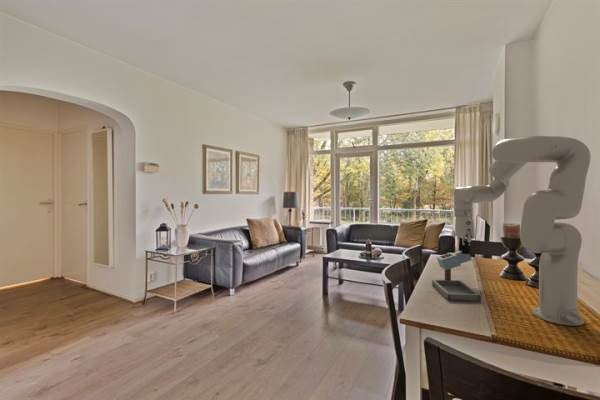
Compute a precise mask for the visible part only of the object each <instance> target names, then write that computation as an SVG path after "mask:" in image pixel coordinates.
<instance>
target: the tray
mask: <svg viewBox="0 0 600 400" xmlns="http://www.w3.org/2000/svg"><path fill="white" fill-rule="evenodd" d="M431 286H432V287H433V288H434V287H435V288H436V289H435V288H434V289H435V290H436V291H437V290H438V291H437V292H438V293H439V294H441V296H442V297H443V298H444V299H446V301H448V300H450V302H451V301H452V302H454V301H455V302H475V303H476V302H477V303H478V302H479V303H480V302H482V295H481V294H480V293H479V292H477V291H476V290H475V289H473V288H472V287H470V286H469V285H467V284H466V283H464V282H463V281H462V280H458V279H457V280H453V279H451V280H445V279H432V280H431Z"/></svg>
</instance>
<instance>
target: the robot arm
mask: <svg viewBox="0 0 600 400" xmlns="http://www.w3.org/2000/svg"><path fill="white" fill-rule="evenodd" d="M491 156H492V158H493V160H494V161H493V162H492V163H491V164H490V165H489V167H488V172H489V174H490V175H491V176H492V178H494V179H493V180H492V181H490V183H488V184H486V185H469V186H458V187H454V189H453V208H454V209H453V212H454V213H453V214H454V218H455V224H454V225H455V226H454V233H455V236H456V237H457V240H458V251H461V250H462V254H470V253H471V252H470V251H471V250H470V247H471V242H472V239H475V236H476V235H475V225H474V218H473V217H474V215H473V214H474V213H473V210H474V208H473V205H474V204H480V203H481V204H482V203H483V204H484V203H492V202H494V201H496V200H497V199H498V198H500V196H502V195H503V194H504V193H506V191H507V190H508V187H509V184H510V179H511V178H512V177H513V176H514V175H516V173H518V172H519V171H520V170H521V169H522V168H523V167H524V166H526V165H527V164H528V163H555V164H556V166H555V167H554V169H553V170H552V172H551V174H550V176H549V183H548V188H547V189H543V190H542V189H541V190H536V191H533V192H532V193H530V195H528V197H526V200H525V202H524V203H523V204H524V205H523V207H522V208H523V209H522V216H521V223H520V228H519V238H520V240H519V241H520V243H521V245H522V246H523V248H524V249H525V250H527V251H529V252H531V253H535V254H541V255H540V258H539V263H538V264H539V265H538V303H539V304H538V307H534V308H533V309H532V313H533V315H534V316H535V317H537V318H539V319H541V320H544V321H545V322H546V321H547V322H549V323H553V324H557V325H563V326H571V327H572V326H573V327H574V326H575V327H576V326H582V325H584V324H585V319H584V317H582V316H581V315H580V310H579V309H578V270H579V269H578V268H579V265H578V264H579V256H580V251H581V247H582V242H583V240H582V235H581V232H580V231H579V229H578V228H576V227H575V226H574V225H572V224H570V223H567V222H566V223H565V222H558V221H557V222H556V220H568V219H572V218H575V217H577V216H578V215H579V214H580V212H581V210H582V206H583V205H582V204H583V199H584V193H585V189H586V180H587V174H588V171H589V167H590V163H591V152H590V149H589V147H588V146H587V145H586V144H585V143H584V142H582V141H580V140H579V139H576V138H572V137H567V136H553V135H552V136H551V135H549V136H548V135H531V136H523V137H514V138H504V139H501V140H500V141H498V142H497V143H496V144H495V145H494V146H493V148H492V151H491Z"/></svg>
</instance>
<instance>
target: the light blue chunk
mask: <svg viewBox="0 0 600 400" xmlns="http://www.w3.org/2000/svg"><path fill="white" fill-rule="evenodd" d="M446 254H449V255H450V257H447V258H445V256H446ZM436 259H437V262H438V264H439V267H440V268H441V269H443V270H444V271H445V270H448V269H451V270H452V269H454V268H457V267H461V266H462V264H464V263H467V262H470V261H471V262H472V260H473V259H472V256H471V255H470V254H462V250H461V251H459V250H457V251H456V252H447V253H445V254H441V255H439V256H436Z"/></svg>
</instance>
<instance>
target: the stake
mask: <svg viewBox="0 0 600 400" xmlns="http://www.w3.org/2000/svg"><path fill="white" fill-rule="evenodd" d="M445 254H446V256H445V258H447V257H450V255H449V254H447V253H445ZM444 280H452V268H451V269H448V270H444Z"/></svg>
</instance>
